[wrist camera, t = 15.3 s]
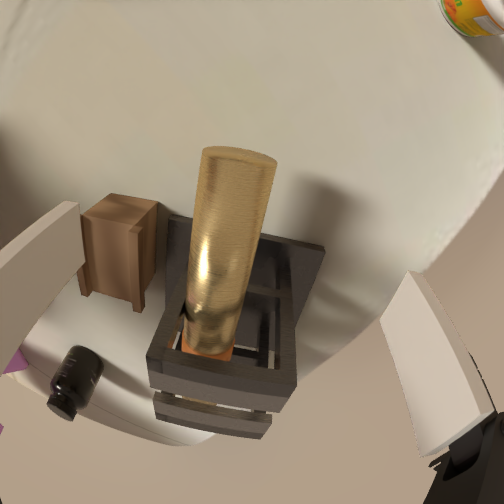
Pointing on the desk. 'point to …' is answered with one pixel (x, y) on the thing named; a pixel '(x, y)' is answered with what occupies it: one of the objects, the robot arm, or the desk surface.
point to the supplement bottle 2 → (474, 16)
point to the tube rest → (119, 248)
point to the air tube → (223, 246)
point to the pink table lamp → (15, 367)
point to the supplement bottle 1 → (74, 382)
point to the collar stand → (247, 334)
